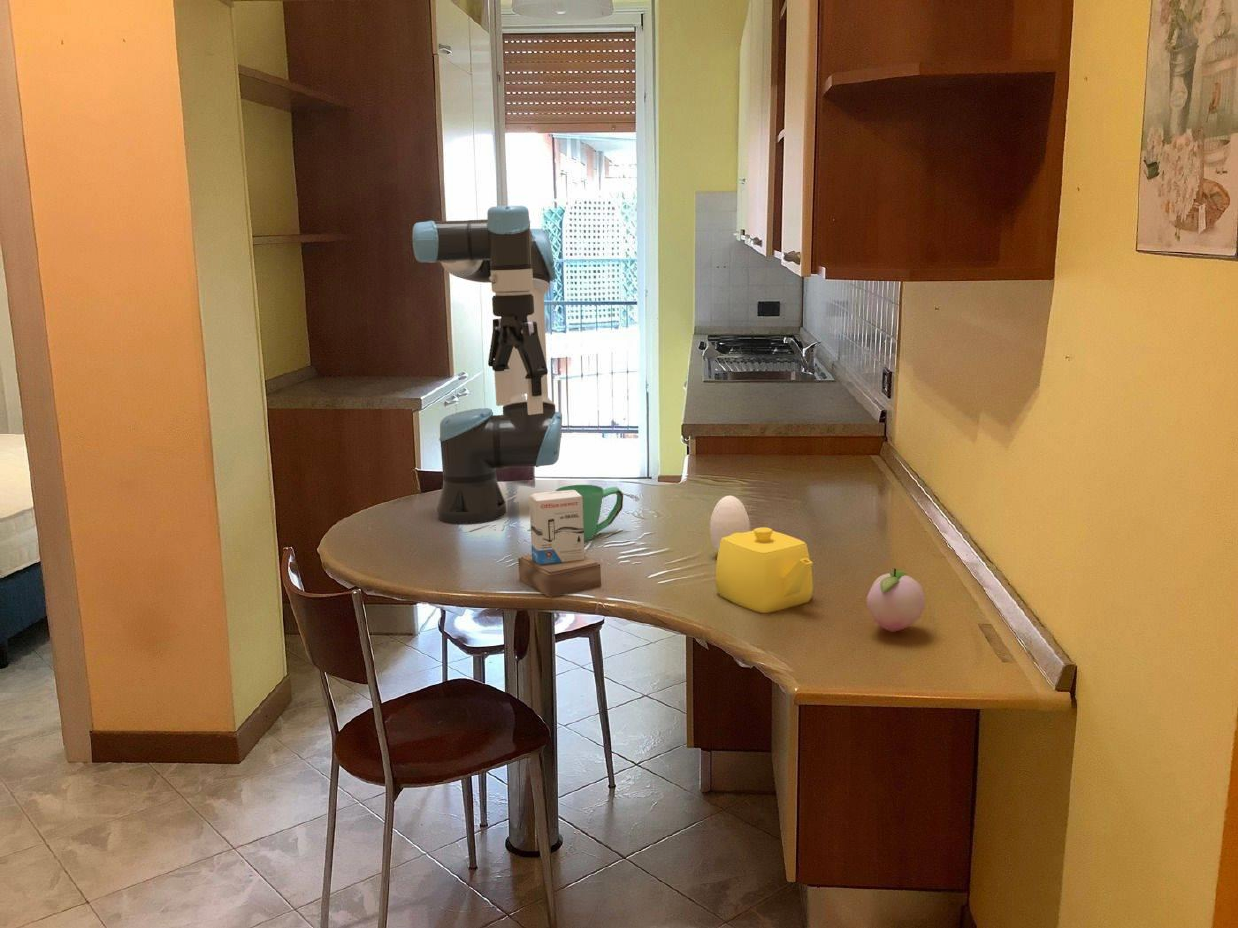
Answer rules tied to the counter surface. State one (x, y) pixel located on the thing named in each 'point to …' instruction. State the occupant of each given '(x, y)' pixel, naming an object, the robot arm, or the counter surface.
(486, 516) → the robot arm
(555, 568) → the plinth
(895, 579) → the decorative fruit
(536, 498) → the ink box
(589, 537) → the mug
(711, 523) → the egg
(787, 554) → the teapot
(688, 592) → the counter surface
